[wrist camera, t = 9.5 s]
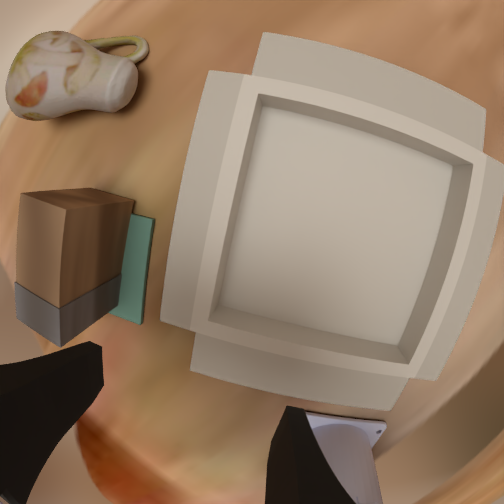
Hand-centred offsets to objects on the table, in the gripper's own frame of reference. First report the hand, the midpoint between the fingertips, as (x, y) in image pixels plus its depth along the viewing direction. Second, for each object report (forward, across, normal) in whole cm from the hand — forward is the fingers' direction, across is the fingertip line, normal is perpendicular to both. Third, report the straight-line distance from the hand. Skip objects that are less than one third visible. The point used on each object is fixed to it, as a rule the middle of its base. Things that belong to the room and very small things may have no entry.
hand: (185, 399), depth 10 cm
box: (+10, +10, -1) cm, 14 cm away
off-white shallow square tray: (+10, -6, -6) cm, 13 cm away
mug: (+11, +14, -13) cm, 22 cm away
